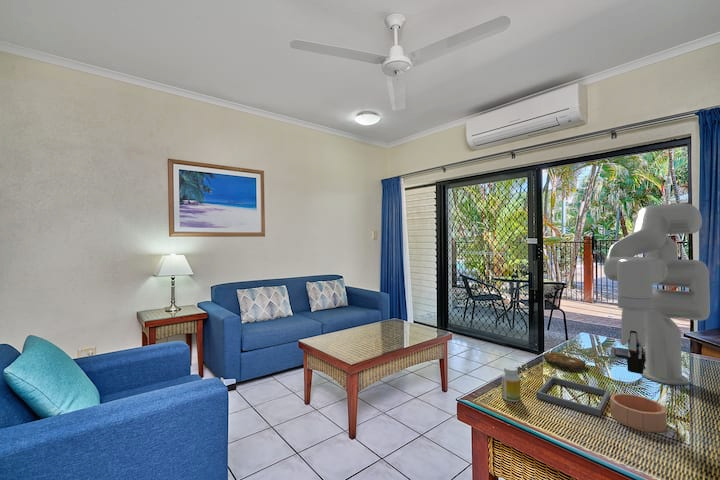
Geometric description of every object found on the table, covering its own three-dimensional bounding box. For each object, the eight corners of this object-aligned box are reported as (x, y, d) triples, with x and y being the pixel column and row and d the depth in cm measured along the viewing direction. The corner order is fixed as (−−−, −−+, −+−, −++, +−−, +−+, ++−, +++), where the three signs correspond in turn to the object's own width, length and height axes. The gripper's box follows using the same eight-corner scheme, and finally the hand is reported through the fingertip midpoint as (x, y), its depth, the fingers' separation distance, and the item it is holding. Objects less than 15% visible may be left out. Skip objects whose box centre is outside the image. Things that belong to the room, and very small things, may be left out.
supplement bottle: (498, 396, 106) (497, 366, 106) (509, 393, 108) (509, 363, 108) (512, 403, 101) (511, 372, 101) (524, 400, 103) (523, 369, 103)
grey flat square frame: (551, 381, 116) (551, 376, 116) (609, 396, 105) (609, 390, 105) (536, 397, 105) (536, 392, 105) (600, 416, 93) (600, 410, 93)
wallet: (609, 353, 140) (611, 344, 152) (609, 358, 140) (611, 348, 152) (674, 364, 128) (671, 353, 139) (674, 369, 128) (671, 358, 139)
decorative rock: (537, 365, 134) (580, 377, 123) (537, 355, 133) (580, 366, 122) (547, 356, 141) (588, 367, 130) (547, 347, 141) (588, 357, 130)
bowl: (614, 405, 99) (613, 389, 99) (666, 419, 91) (666, 402, 91) (607, 421, 91) (607, 403, 91) (665, 438, 82) (665, 418, 82)
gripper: (621, 298, 100) (622, 358, 99) (613, 306, 88) (614, 375, 87) (654, 300, 94) (656, 365, 94) (650, 309, 82) (652, 383, 82)
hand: (636, 369), depth 91 cm, fingers closed on dice, 4 cm apart
